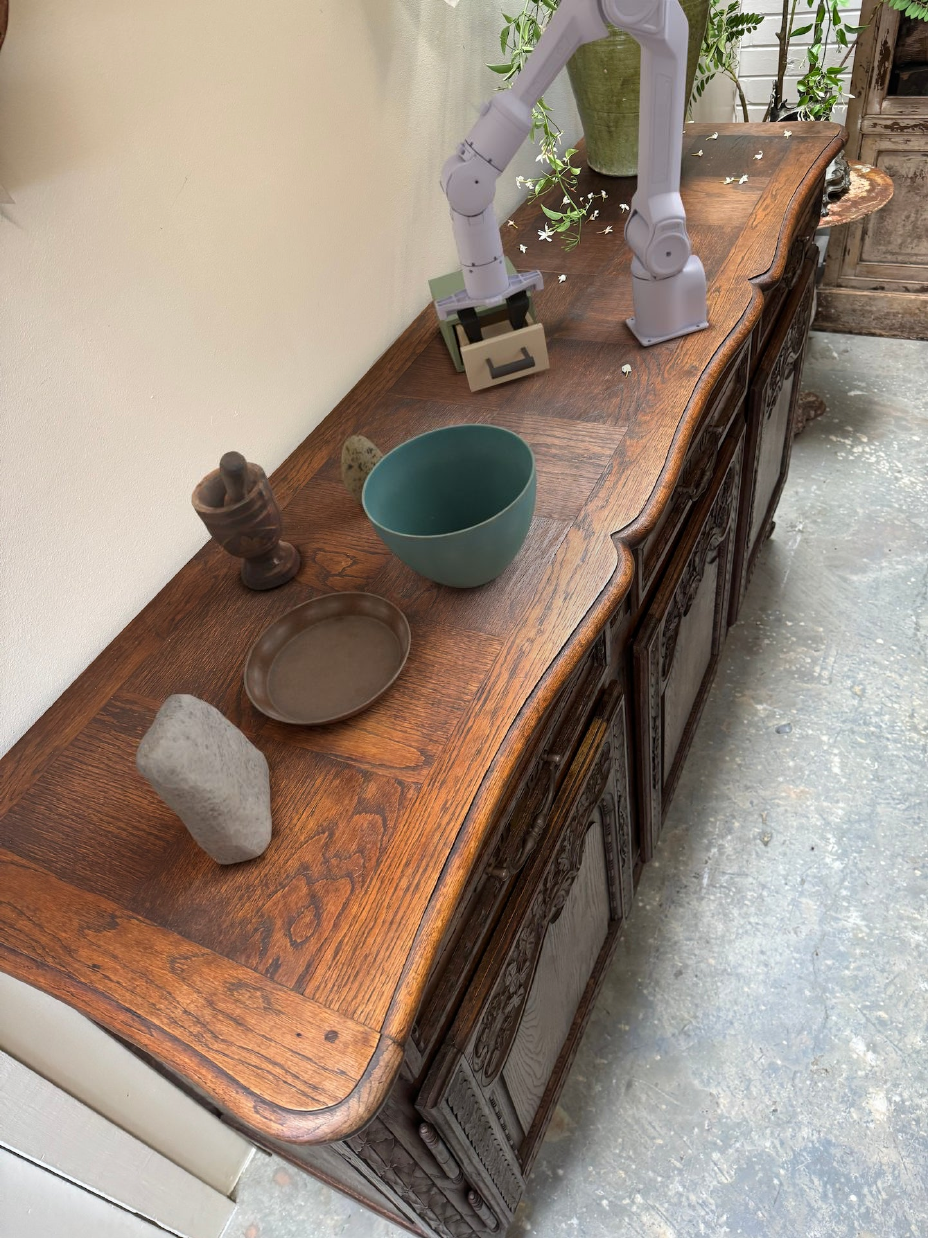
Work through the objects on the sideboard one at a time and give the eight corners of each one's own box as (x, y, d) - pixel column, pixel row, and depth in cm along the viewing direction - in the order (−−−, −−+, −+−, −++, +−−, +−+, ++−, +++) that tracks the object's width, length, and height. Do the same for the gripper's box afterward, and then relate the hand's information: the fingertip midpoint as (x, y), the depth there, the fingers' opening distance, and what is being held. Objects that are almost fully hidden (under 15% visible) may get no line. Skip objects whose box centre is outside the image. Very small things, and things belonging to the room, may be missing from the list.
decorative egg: (349, 498, 107) (323, 434, 100) (392, 481, 108) (369, 416, 101) (361, 524, 103) (334, 459, 96) (405, 506, 104) (382, 440, 97)
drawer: (558, 383, 113) (552, 341, 109) (478, 408, 113) (468, 367, 109) (525, 325, 126) (518, 285, 122) (453, 348, 126) (443, 309, 122)
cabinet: (540, 347, 123) (531, 294, 117) (458, 372, 123) (445, 321, 117) (516, 305, 133) (506, 255, 127) (440, 328, 133) (427, 280, 127)
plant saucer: (321, 592, 96) (311, 574, 94) (448, 631, 88) (442, 612, 85) (221, 709, 87) (209, 691, 85) (353, 765, 79) (343, 747, 76)
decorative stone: (223, 768, 82) (148, 673, 71) (281, 756, 81) (215, 658, 71) (208, 871, 74) (123, 781, 64) (272, 859, 74) (197, 766, 63)
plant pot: (407, 642, 88) (373, 558, 79) (383, 536, 101) (352, 453, 92) (572, 591, 88) (556, 501, 79) (527, 491, 101) (510, 404, 92)
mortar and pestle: (339, 559, 100) (277, 418, 85) (297, 609, 95) (224, 469, 81) (268, 540, 105) (198, 405, 91) (224, 587, 101) (144, 453, 86)
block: (513, 347, 120) (508, 319, 117) (521, 362, 117) (516, 333, 114) (484, 356, 120) (478, 328, 117) (491, 371, 117) (485, 343, 114)
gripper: (433, 285, 105) (456, 379, 115) (543, 250, 105) (557, 348, 115) (423, 263, 110) (447, 355, 120) (529, 230, 110) (544, 325, 120)
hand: (500, 350), depth 118 cm, fingers closed on block, 4 cm apart
